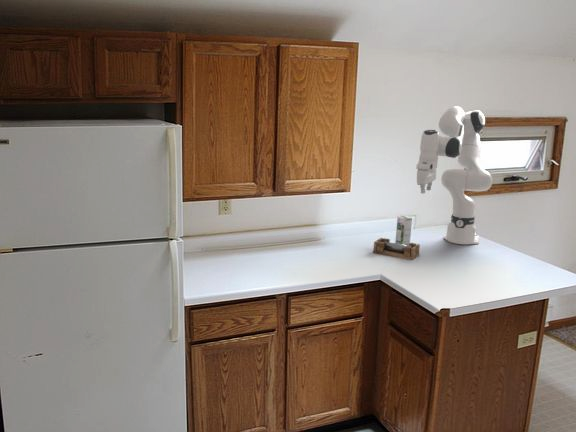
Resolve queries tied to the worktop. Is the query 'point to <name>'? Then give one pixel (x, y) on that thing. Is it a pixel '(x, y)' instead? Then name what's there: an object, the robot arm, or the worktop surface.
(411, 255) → the cradle
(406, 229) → the syrup box
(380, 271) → the worktop surface
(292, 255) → the worktop surface
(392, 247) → the cylinder
